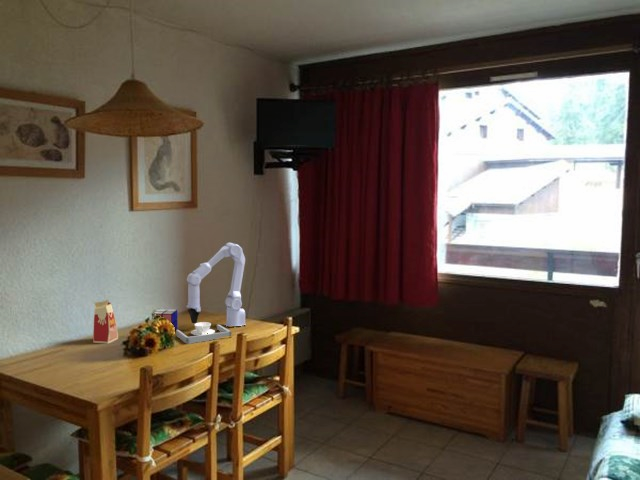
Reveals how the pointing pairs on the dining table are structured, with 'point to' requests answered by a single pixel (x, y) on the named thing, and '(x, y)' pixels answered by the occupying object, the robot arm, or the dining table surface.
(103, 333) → the milk carton
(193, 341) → the tray
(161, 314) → the puzzle cube
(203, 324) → the teacup
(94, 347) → the dining table surface
